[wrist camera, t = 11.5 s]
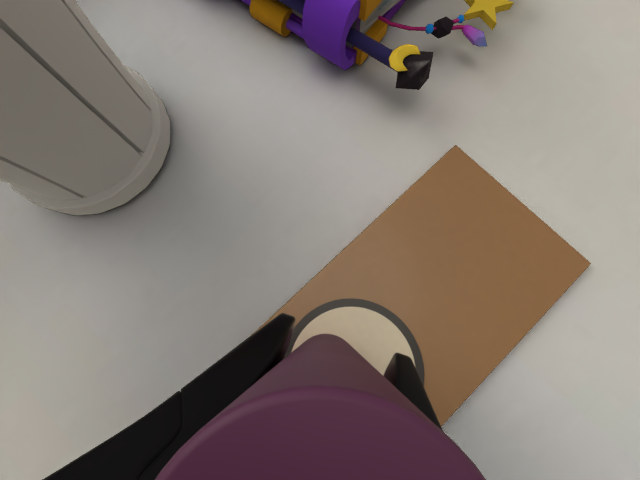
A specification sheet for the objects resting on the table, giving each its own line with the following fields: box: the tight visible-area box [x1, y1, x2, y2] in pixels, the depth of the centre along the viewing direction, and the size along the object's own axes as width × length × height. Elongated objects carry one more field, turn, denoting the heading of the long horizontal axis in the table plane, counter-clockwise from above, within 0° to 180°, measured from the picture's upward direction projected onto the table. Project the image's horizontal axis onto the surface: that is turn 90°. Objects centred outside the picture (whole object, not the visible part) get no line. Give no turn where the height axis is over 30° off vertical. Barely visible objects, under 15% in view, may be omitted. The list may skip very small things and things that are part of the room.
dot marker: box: [155, 334, 486, 480], centre depth 9 cm, size 3×3×14 cm
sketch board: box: [252, 145, 591, 426], centre depth 17 cm, size 16×9×1 cm, turn 133°
